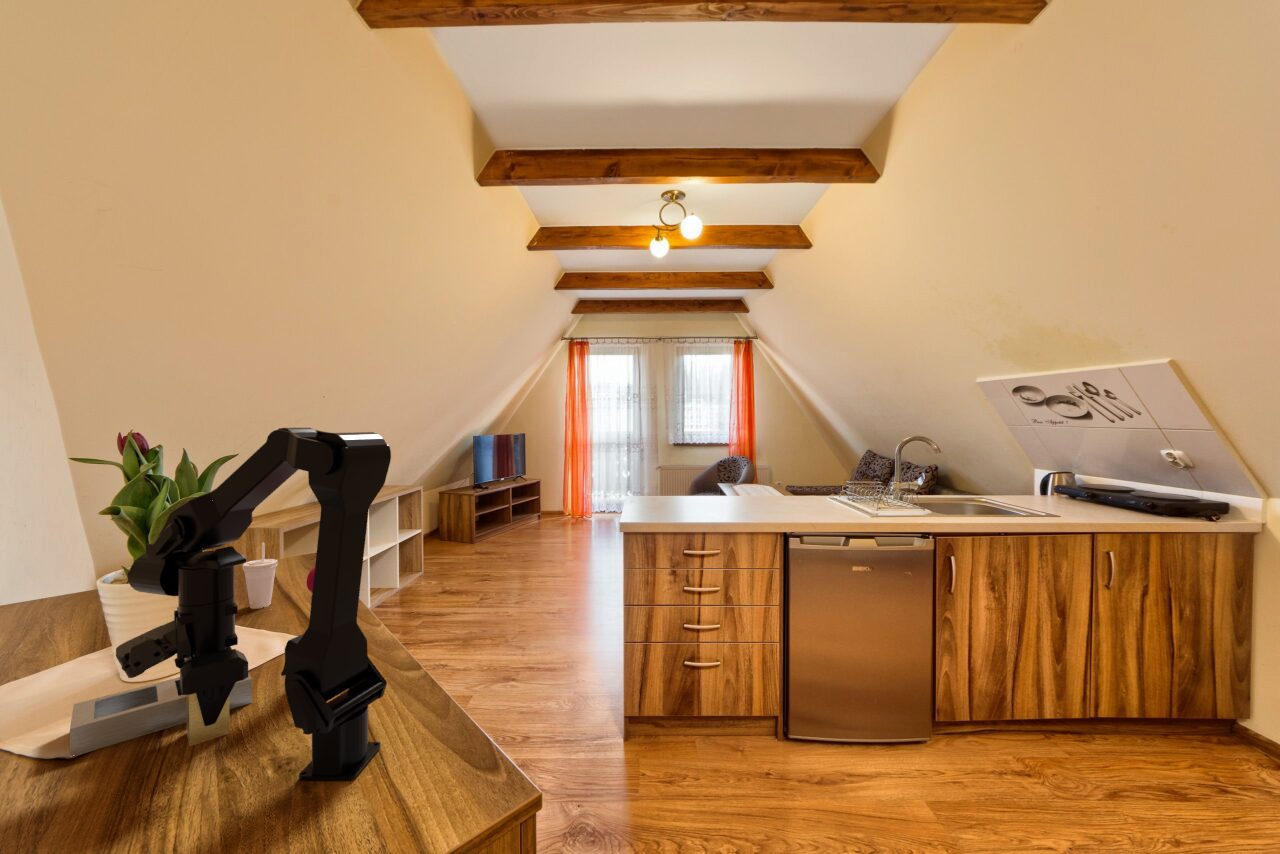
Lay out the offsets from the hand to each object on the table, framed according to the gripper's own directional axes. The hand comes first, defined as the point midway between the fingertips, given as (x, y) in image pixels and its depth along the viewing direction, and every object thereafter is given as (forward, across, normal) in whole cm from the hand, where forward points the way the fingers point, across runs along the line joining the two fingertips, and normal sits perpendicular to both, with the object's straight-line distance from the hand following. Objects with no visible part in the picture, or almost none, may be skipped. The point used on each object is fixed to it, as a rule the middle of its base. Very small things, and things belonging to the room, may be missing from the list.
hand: (207, 717), depth 69 cm
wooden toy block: (+2, 0, 0) cm, 2 cm away
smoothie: (+2, -54, +14) cm, 56 cm away
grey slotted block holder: (+2, -9, -4) cm, 10 cm away
